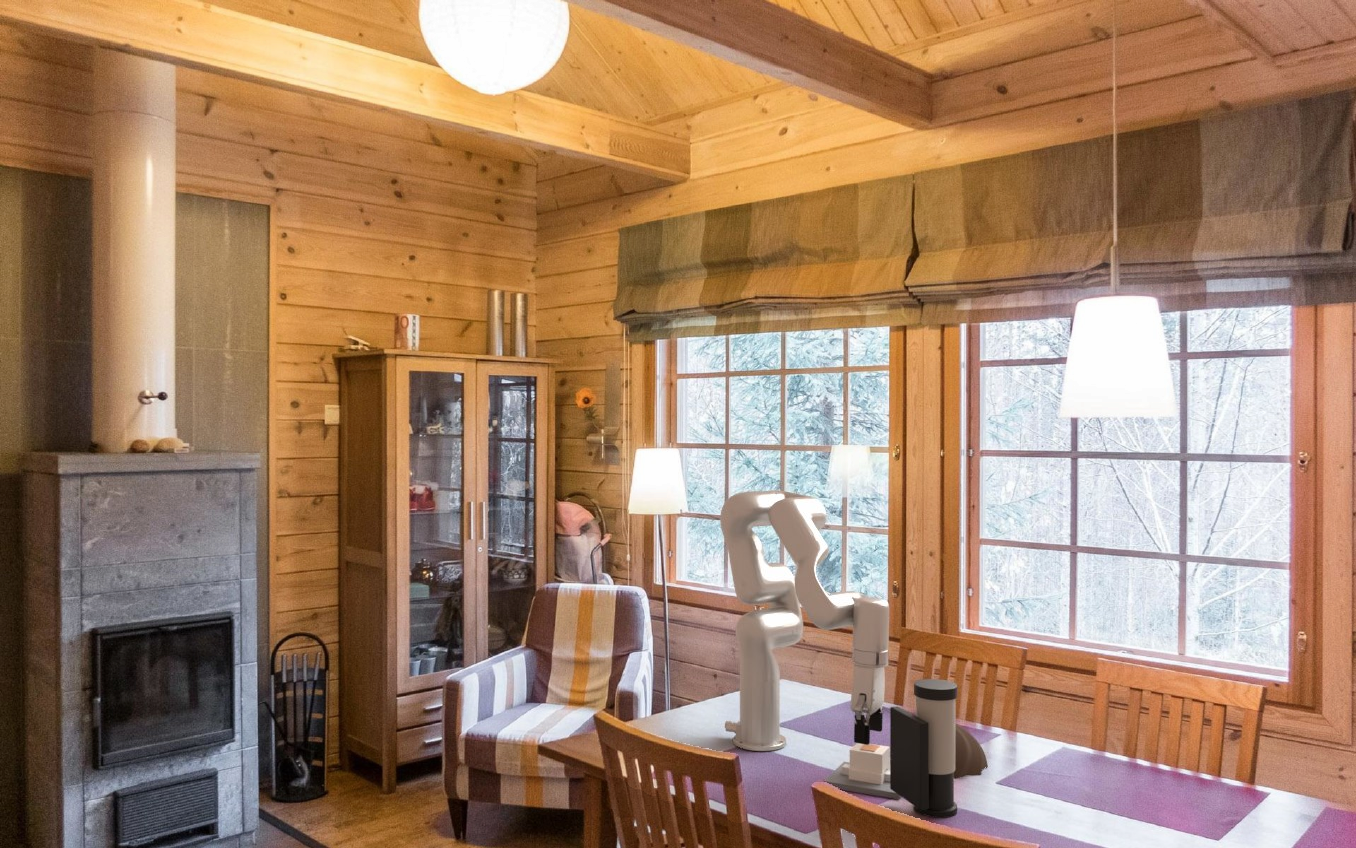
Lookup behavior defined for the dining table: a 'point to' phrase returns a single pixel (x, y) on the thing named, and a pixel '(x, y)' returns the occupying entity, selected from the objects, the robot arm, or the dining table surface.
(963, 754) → the decorative dome
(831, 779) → the rail board
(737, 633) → the robot arm
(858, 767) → the block
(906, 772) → the light fixture
